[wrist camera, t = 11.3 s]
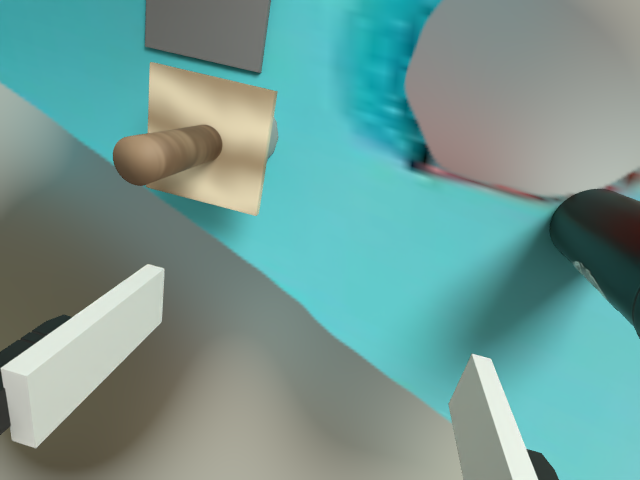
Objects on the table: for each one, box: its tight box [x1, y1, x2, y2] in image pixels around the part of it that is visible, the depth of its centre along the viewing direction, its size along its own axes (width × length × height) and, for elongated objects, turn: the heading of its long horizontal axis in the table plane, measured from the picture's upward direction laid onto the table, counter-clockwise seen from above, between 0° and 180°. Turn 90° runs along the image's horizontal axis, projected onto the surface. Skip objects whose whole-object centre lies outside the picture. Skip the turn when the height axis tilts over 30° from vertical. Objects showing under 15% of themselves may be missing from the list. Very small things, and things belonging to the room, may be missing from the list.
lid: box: [113, 62, 278, 216], centre depth 32 cm, size 12×12×12 cm
